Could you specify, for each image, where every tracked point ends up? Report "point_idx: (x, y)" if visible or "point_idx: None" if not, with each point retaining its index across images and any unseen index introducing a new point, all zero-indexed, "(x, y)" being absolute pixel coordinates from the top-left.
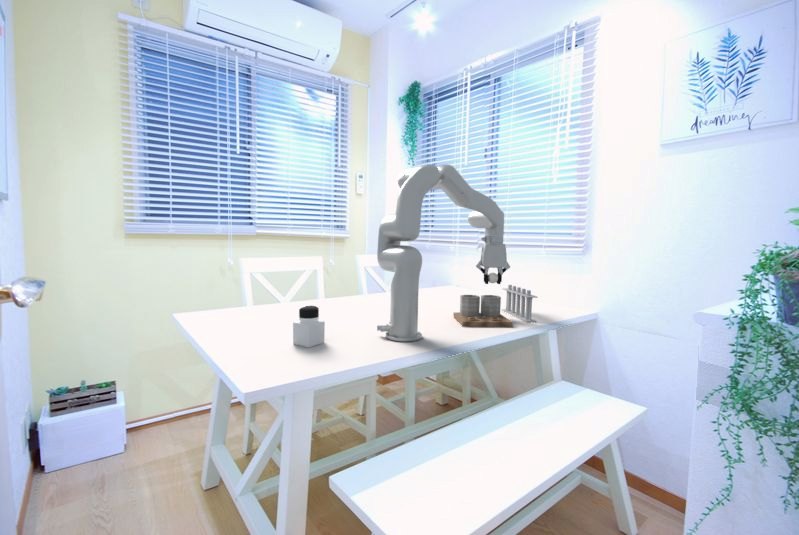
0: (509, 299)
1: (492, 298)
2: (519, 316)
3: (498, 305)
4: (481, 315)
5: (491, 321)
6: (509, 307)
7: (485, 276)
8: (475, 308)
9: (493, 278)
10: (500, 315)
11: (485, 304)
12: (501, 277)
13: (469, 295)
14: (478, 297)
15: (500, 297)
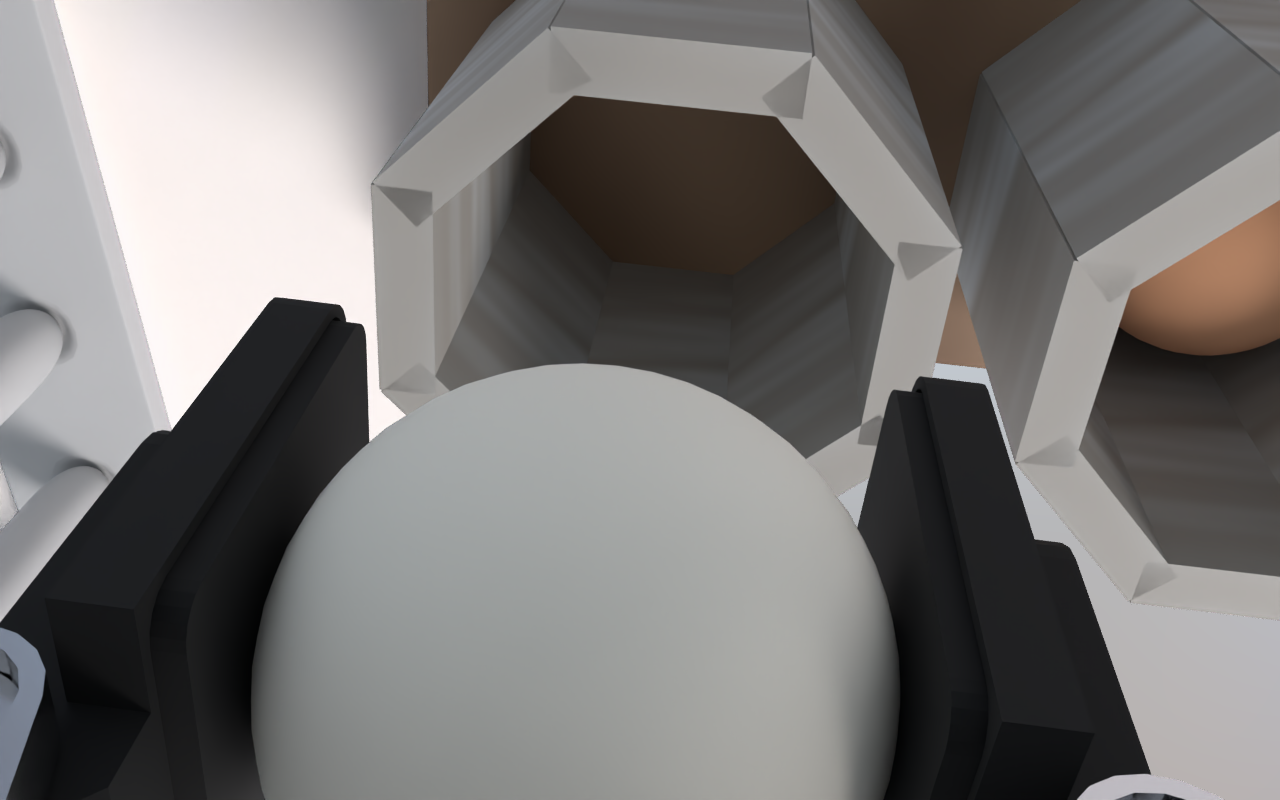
0: None
1: (720, 40)
2: (31, 192)
3: (519, 23)
4: (924, 72)
5: None
6: None
7: (1096, 729)
8: (1206, 6)
9: (656, 420)
10: (474, 44)
11: (887, 96)
12: (64, 558)
13: (1217, 562)
14: (1154, 204)
15: (390, 166)
